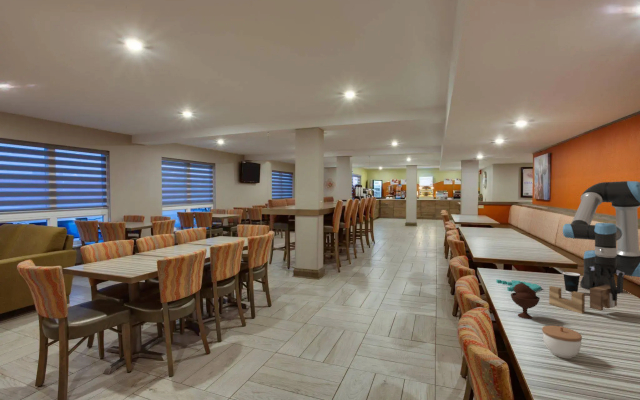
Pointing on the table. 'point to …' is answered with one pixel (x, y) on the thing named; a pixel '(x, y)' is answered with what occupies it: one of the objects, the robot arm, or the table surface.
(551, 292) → the oak board
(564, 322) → the table surface
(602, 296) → the walnut plate
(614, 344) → the table surface
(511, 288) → the alien figure
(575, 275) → the dixie cup
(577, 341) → the lidded jar
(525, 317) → the ice cream bowl
